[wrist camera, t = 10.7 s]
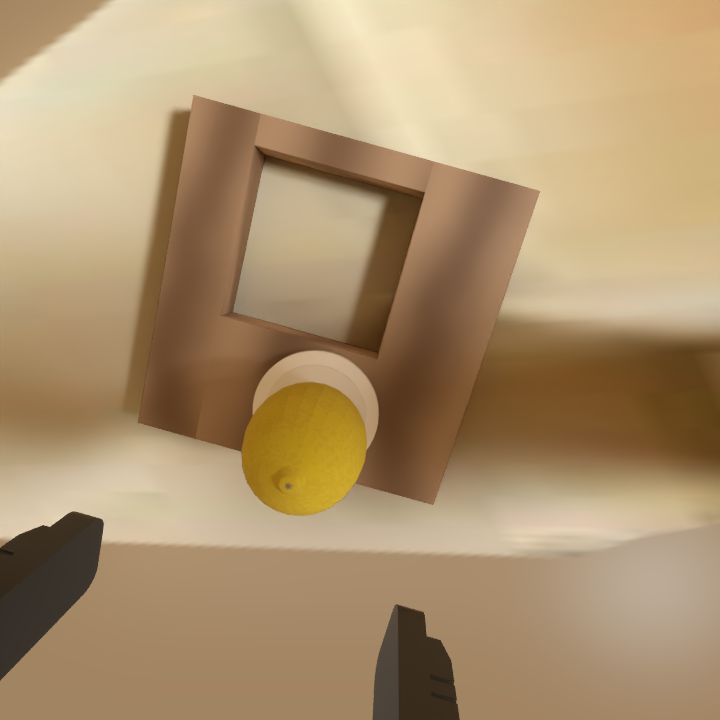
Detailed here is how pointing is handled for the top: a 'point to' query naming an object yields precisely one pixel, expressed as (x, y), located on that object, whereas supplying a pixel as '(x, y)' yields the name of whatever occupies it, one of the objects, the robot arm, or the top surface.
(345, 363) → the saucer
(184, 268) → the pocket board
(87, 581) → the robot arm
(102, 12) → the top surface
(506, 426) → the top surface
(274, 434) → the lemon
